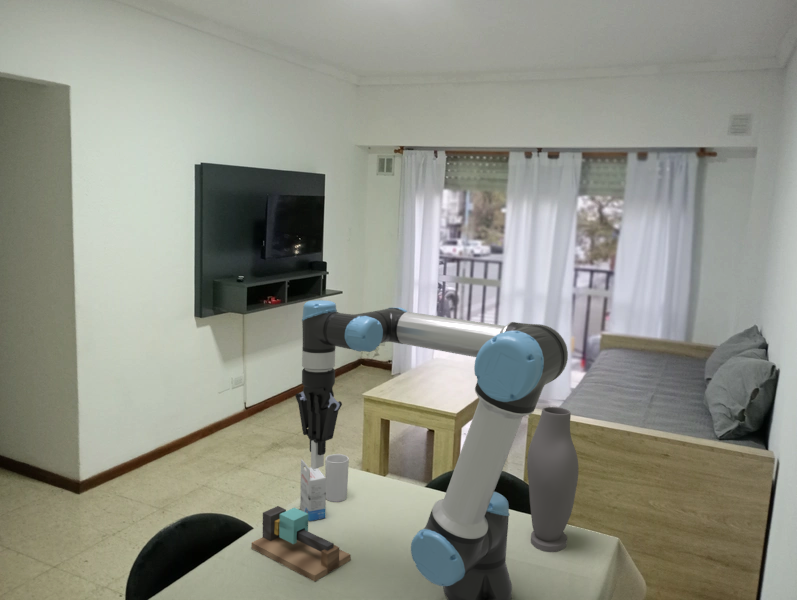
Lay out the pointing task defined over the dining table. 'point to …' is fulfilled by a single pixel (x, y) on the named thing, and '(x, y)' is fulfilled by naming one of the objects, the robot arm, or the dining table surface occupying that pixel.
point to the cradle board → (299, 549)
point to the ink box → (312, 492)
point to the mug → (336, 477)
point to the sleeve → (292, 524)
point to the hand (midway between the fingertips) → (317, 466)
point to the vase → (551, 479)
